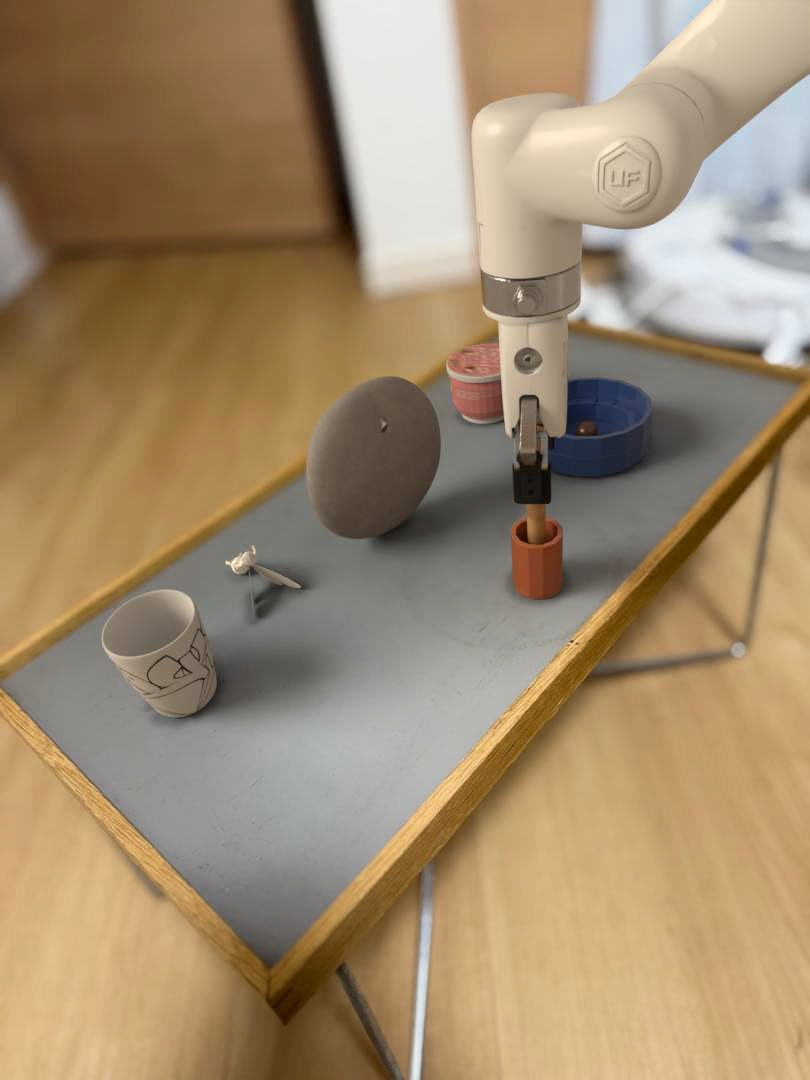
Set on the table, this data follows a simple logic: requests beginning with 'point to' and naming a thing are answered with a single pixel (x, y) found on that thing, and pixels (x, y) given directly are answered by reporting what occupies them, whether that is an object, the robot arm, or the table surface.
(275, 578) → the fairy figurine
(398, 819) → the table surface
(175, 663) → the mug
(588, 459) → the bowl
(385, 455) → the grey-brown thick disc
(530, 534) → the stick
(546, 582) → the holder
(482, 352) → the container
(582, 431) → the bead
